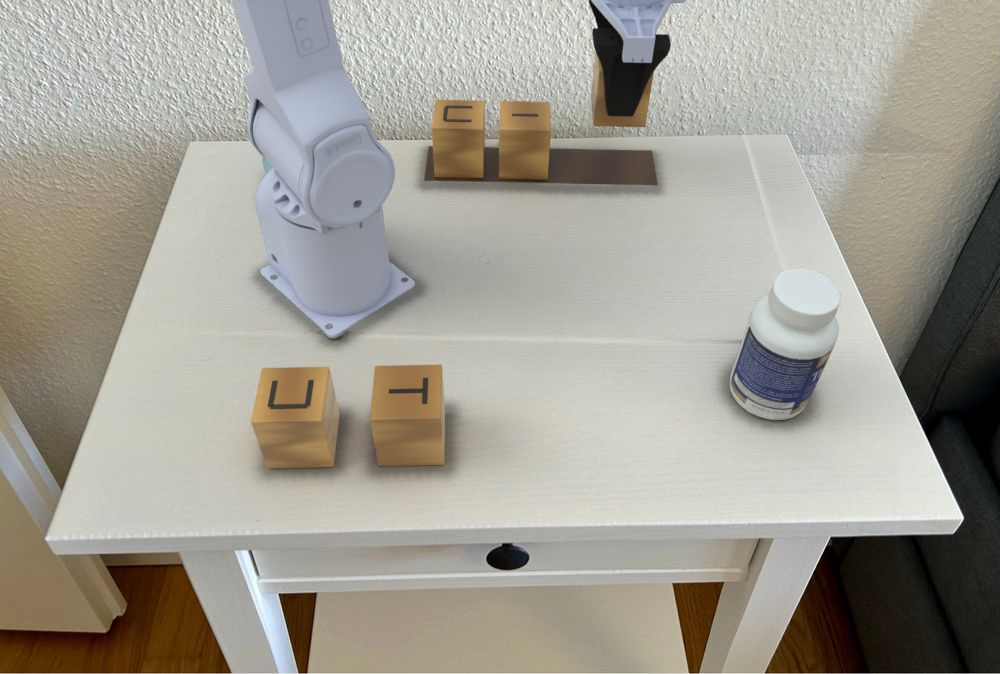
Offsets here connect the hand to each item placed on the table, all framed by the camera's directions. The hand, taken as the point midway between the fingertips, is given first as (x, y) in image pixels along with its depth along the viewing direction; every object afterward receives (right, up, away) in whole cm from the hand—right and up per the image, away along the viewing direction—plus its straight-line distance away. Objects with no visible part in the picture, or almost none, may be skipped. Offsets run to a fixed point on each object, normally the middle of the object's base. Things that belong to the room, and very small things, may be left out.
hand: (618, 97), depth 69 cm
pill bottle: (+9, -23, -11) cm, 27 cm away
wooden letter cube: (0, -1, +1) cm, 1 cm away
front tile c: (-22, -26, -14) cm, 37 cm away
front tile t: (-15, -26, -14) cm, 33 cm away
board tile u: (-13, -4, +5) cm, 15 cm away
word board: (-6, -5, +6) cm, 10 cm away
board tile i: (-8, -4, +5) cm, 10 cm away
